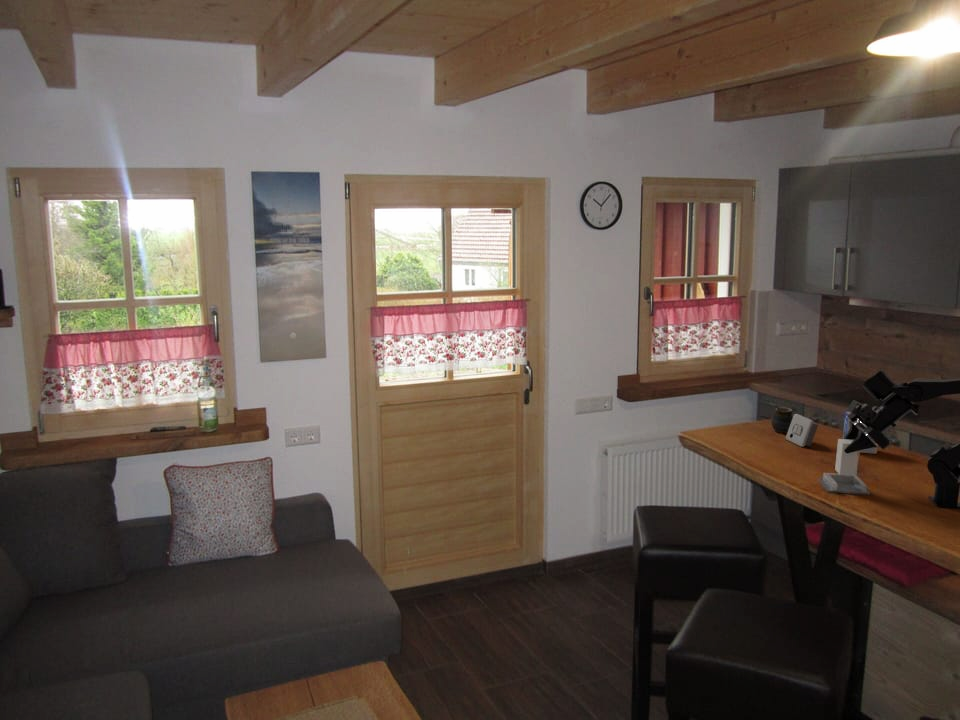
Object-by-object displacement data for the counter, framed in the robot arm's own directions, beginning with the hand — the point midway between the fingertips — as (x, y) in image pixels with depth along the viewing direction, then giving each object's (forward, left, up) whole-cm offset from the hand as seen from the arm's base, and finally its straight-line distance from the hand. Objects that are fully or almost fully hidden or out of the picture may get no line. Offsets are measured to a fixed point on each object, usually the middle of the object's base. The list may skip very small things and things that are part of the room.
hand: (842, 449), depth 220 cm
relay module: (0, -1, -7) cm, 7 cm away
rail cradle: (0, -1, -11) cm, 11 cm away
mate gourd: (+55, +3, -11) cm, 56 cm away
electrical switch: (+42, 0, -11) cm, 44 cm away
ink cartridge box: (+37, -17, -11) cm, 42 cm away
